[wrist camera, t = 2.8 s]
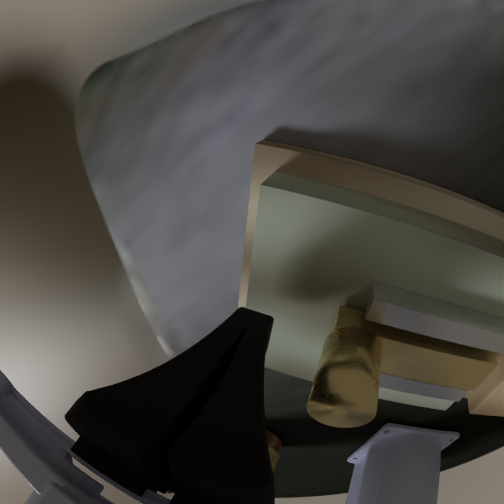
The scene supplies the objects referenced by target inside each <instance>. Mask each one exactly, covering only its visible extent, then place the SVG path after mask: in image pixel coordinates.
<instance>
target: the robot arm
mask: <svg viewBox="0 0 504 504" xmlns="http://www.w3.org/2000/svg"><path fill="white" fill-rule="evenodd" d="M273 323H274V318H273V317H272V316H270V315H266V314H263V313H260V312H257V311H254V310H251V309H248V308H245V307H240V308H238V309H237V310H236V311H235V312H234V313H233V314H232V315H231V316H230V317H229V318H228V319H227V320H225V321H224V322H223V323H222V324H221V325H220V326H218V327H217V328H216V329H215V330H213V331H212V332H211V333H210V334H208V335H207V336H206V337H204V338H203V339H202V340H200V341H199V342H198V343H196V344H195V345H193V346H192V347H190V348H189V349H187V350H186V351H184V352H183V353H181V354H180V355H178V356H176V357H175V358H173V359H171V360H169V361H168V362H166V363H164V364H162V365H160V366H158V367H156V368H154V369H152V370H150V371H148V372H145V373H143V374H141V375H139V376H136V377H133V378H130V379H128V380H125V381H122V382H120V383H117V384H114V385H110V386H106V387H103V388H99V389H95V390H91V391H87V392H85V393H84V394H83V395H82V396H81V397H80V398H79V399H78V400H77V401H76V402H75V403H74V405H73V406H72V407H71V408H70V410H69V411H68V412H67V413H66V415H65V419H66V421H67V422H68V423H69V425H70V426H71V427H72V428H73V429H74V430H75V431H76V432H77V433H78V434H79V435H80V437H79V438H78V440H77V441H76V442H75V441H74V440H72V439H71V438H70V437H68V436H67V435H66V434H64V433H63V432H62V431H61V430H59V429H58V428H57V427H56V426H55V425H54V424H53V423H51V422H50V421H49V420H48V419H47V418H46V417H44V416H43V415H42V414H41V413H40V412H39V411H38V410H37V409H36V408H35V407H33V406H32V405H31V404H30V403H29V402H28V401H27V400H26V399H25V398H24V397H23V396H22V395H21V394H20V393H19V392H18V391H17V390H16V389H15V388H14V387H13V385H12V383H11V382H10V381H9V380H8V378H7V377H6V376H5V375H4V374H3V373H2V372H1V371H0V448H1V449H2V451H3V452H4V454H5V455H6V456H7V457H8V459H9V460H10V461H11V463H12V464H13V465H14V466H15V468H16V469H17V470H18V471H19V472H20V474H21V475H22V476H23V477H24V478H25V480H26V481H27V482H28V483H29V484H30V485H31V486H32V487H33V488H34V491H33V493H32V494H31V495H30V497H29V498H28V500H27V501H26V502H25V504H114V503H113V502H111V501H109V500H108V499H106V498H105V497H103V496H102V495H100V493H101V492H102V490H103V489H104V486H103V485H101V484H100V483H98V482H97V481H95V480H94V479H92V478H91V477H90V476H88V475H87V474H86V473H84V472H83V471H81V470H80V469H79V468H77V467H76V466H75V465H74V464H73V462H72V457H73V458H74V459H76V460H77V461H78V462H80V463H81V464H82V465H84V466H85V467H87V468H88V469H89V470H91V471H92V472H93V473H95V474H96V475H98V476H99V477H101V478H102V479H104V480H105V481H107V482H108V483H110V484H111V485H113V486H114V487H116V488H118V489H119V490H121V491H122V492H124V493H126V494H127V495H129V496H131V497H133V498H134V499H136V500H138V501H140V502H141V503H143V504H274V503H275V492H274V475H273V470H272V465H271V460H270V454H269V448H268V441H267V432H266V423H265V411H264V365H265V355H266V352H267V349H268V345H269V341H270V336H271V332H272V327H273ZM458 438H459V432H451V431H442V430H434V429H426V428H419V427H412V426H406V425H400V424H394V423H387V424H385V425H384V426H383V427H382V428H381V429H380V430H379V431H377V432H376V433H375V434H374V435H373V436H372V437H371V438H370V439H369V440H368V441H367V442H366V443H364V444H363V445H362V446H361V447H360V448H359V449H358V450H357V451H355V452H354V453H353V454H352V455H351V456H350V457H348V459H347V461H348V462H350V463H355V467H354V471H353V476H352V480H351V484H350V488H349V492H348V496H347V500H346V503H345V504H437V497H438V487H439V476H440V460H441V450H443V449H444V448H446V447H447V446H448V445H450V444H451V443H452V442H454V441H455V440H456V439H458ZM71 456H72V457H71ZM157 491H160V492H161V493H164V494H165V493H166V492H167V493H173V492H174V493H175V494H174V496H173V498H172V499H171V500H169V499H167V498H165V497H163V496H161V495H159V494H157Z"/></svg>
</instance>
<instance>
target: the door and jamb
mask: <svg viewBox="0 0 504 504" xmlns="http://www.w3.org/2000/svg"><path fill="white" fill-rule="evenodd" d="M374 281H379V282H382V283H386V284H389V285H393V286H396V287H400V288H403V289H406V290H410V291H413V292H417V293H420V294H424V295H427V296H431V297H434V298H437V299H441V300H444V301H448V302H451V303H455V304H458V305H461V306H465V307H468V308H472V309H475V310H478V311H482V312H485V313H489V314H492V315H495V316H499V317H502V318H504V213H503V212H501V211H499V210H497V209H495V208H492V207H490V206H488V205H485V204H483V203H480V202H478V201H476V200H473V199H471V198H468V197H466V196H463V195H461V194H458V193H455V192H453V191H450V190H448V189H445V188H442V187H439V186H437V185H434V184H431V183H428V182H425V181H422V180H419V179H416V178H413V177H410V176H407V175H404V174H401V173H398V172H395V171H391V170H388V169H385V168H381V167H378V166H374V165H371V164H367V163H364V162H360V161H356V160H353V159H349V158H345V157H341V156H337V155H333V154H329V153H325V152H320V151H316V150H312V149H307V148H303V147H298V146H293V145H288V144H283V143H278V142H273V141H267V140H261V141H259V142H257V143H256V144H255V153H254V162H253V171H252V180H251V189H250V198H249V208H248V217H247V227H246V236H245V245H244V255H243V265H242V274H241V284H240V294H239V304H238V308H240V307H245V308H248V309H251V310H254V311H257V312H260V313H263V314H266V315H270V316H272V317H273V318H274V323H273V327H272V332H271V336H270V341H269V345H268V349H267V352H266V355H265V365H264V367H267V368H270V369H273V370H276V371H279V372H282V373H285V374H289V375H292V376H295V377H298V378H302V379H305V380H309V381H312V382H314V378H315V374H316V371H317V367H318V363H319V359H320V355H321V351H322V347H323V343H324V340H325V339H326V337H327V336H328V334H329V332H330V329H331V327H332V324H333V322H334V319H335V317H336V314H337V312H338V309H339V307H340V305H342V306H345V307H349V308H352V309H356V310H359V311H363V312H366V300H367V297H368V295H369V293H370V290H371V288H372V286H373V283H374ZM495 354H496V358H497V362H498V365H497V367H496V368H495V369H494V370H493V371H492V372H491V374H490V375H489V376H488V377H487V378H486V379H485V380H484V381H483V382H482V383H481V384H480V386H479V387H478V388H477V389H476V390H475V391H471V390H469V391H468V392H467V393H466V395H465V396H464V397H463V398H468V407H469V413H470V414H479V415H490V416H502V417H504V352H503V353H502V354H501V353H497V352H495ZM378 398H380V399H385V400H389V401H394V402H399V403H405V404H410V405H415V406H421V407H427V408H433V409H440V410H446V409H447V408H449V407H450V406H451V405H452V404H453V403H454V402H455V401H450V400H444V399H438V398H432V397H426V396H421V395H416V394H410V393H405V392H401V391H396V390H391V389H387V388H382V387H379V394H378Z"/></svg>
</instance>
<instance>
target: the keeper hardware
mask: <svg viewBox="0 0 504 504" xmlns="http://www.w3.org/2000/svg"><path fill="white" fill-rule="evenodd" d="M365 319H366V320H369V321H373V322H377V323H380V324H384V325H388V326H392V327H395V328H399V329H403V330H407V331H411V332H414V333H418V334H422V335H426V336H430V337H434V338H438V339H442V340H446V341H450V342H454V343H458V344H462V345H467V346H471V347H475V348H479V349H484V350H488V351H492V352H497V353H501V354H502V353H503V352H504V318H502V317H499V316H495V315H492V314H489V313H485V312H482V311H478V310H475V309H472V308H468V307H465V306H461V305H458V304H455V303H451V302H448V301H444V300H441V299H437V298H434V297H431V296H427V295H424V294H420V293H417V292H413V291H410V290H406V289H403V288H400V287H396V286H393V285H389V284H386V283H382V282H379V281H374V283H373V286H372V288H371V290H370V293H369V295H368V297H367V300H366V314H365ZM379 387H382V388H387V389H391V390H396V391H401V392H405V393H410V394H416V395H421V396H426V397H432V398H438V399H444V400H450V401H457V402H459V401H460V400H461V399H462V398H463V397H464V396H465V395H466V393H467V392H468V391H469V390H465V389H459V388H453V387H447V386H442V385H437V384H431V383H426V382H421V381H416V380H412V379H407V378H403V377H398V376H394V375H389V374H385V373H381V372H380V384H379Z"/></svg>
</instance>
